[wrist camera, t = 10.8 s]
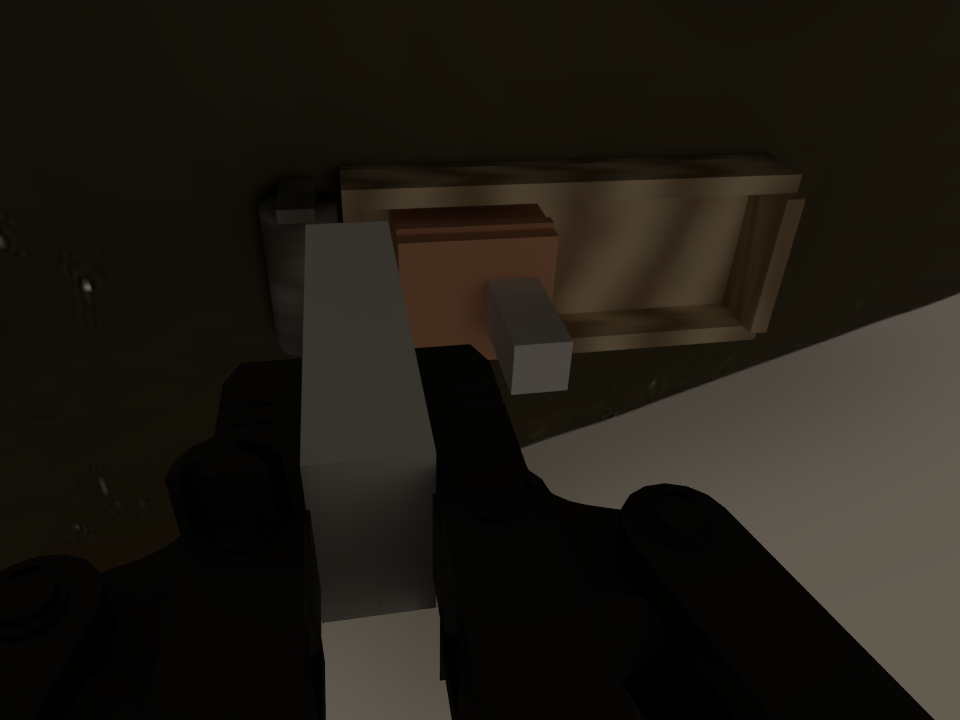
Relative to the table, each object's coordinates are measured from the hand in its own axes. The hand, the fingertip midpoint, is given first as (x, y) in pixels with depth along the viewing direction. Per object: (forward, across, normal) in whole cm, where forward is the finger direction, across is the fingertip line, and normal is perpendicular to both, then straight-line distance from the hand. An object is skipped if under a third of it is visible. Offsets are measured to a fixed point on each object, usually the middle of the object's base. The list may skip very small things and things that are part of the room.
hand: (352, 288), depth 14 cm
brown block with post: (+30, +7, -14) cm, 33 cm away
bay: (+30, +12, -14) cm, 35 cm away
